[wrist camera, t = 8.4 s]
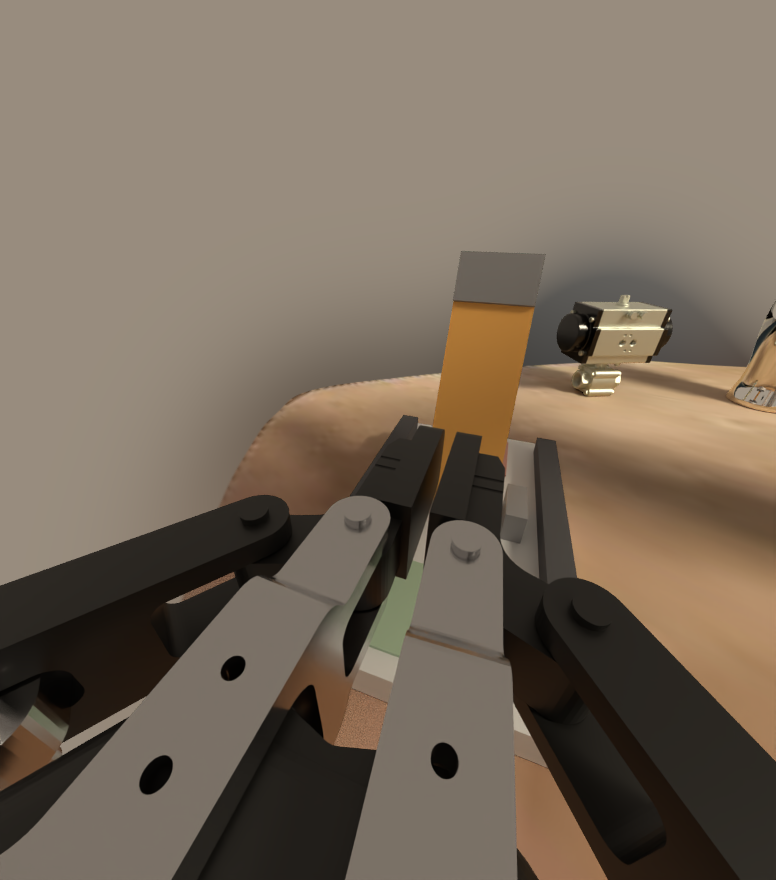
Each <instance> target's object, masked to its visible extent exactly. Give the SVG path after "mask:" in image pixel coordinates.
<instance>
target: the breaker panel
mask: <svg viewBox="0 0 776 880" xmlns="http://www.w3.org/2000/svg"><path fill="white" fill-rule="evenodd" d="M420 425H423V426H429V427H433V426H432V425H427V424H421V423H418V427H419V426H420ZM418 427H417V429H418ZM534 448H535V443H530V442H524V441H518V440H513V439H507V444H506V449H505V454H504V459H503V466H504V467H505V479H504V492H503V505H502V518H501V531H500V540H501V544H502V546H503V549H504V551H505V552H506V554H507V555H508V556H509V558H510V559H511V560H512V561H513V562H514V563H515V564H516V565H518V566H519V567H520V568H521V569H523V570H524V571H526V572H528V573H529V574H531V575H533V576H535V577H537V578H539V562H538V541H537V519H536V498H535V476H534V455H533V451H534ZM431 506H432V505H431ZM430 509H431V508H430ZM429 512H430V511H429ZM428 521H429V514H428V517H427V520H426V523H425V526H424V529H423V532H422V535H421V537H420V540H419V543H418V546H417V549H416V552H415V555H414V558H413V561H412V564H411V567H410V570H409V573H408V576H407V579H402V578H399V577H396V576H395V579H394V581H393V584H392V587H391V589H390V592H389V594H388V600H387V605H386V608H385V610H384V612H383V615H382V617H381V619H380V622H379V624H378V626H377V629H376V631H375V633H374V636H373V638H372V640H371V643H370V645H369V647H368V650H367V652H366V654H365V656H364V659H363V661H362V663H361V666H360V668H359V670H358V673H357V675H356V677H355V680H354V682H353V685H352V688H353V689H355V690H358V691H360V692H362V693H365V694H367V695H370V696H372V697H375V698H377V699H380V700H382V701H384V702H387V703H388V702H389V697H390V693H391V689H392V685H393V681H394V677H395V673H396V669H397V664H398V660H399V656H400V652H401V648H402V644H403V641H404V637H405V634H406V631H407V629H409V627H410V624H411V620H412V616H413V612H414V608H415V603H416V599H417V595H418V591H419V586H420V582H421V578H422V573H423V565H424V557H425V548H426V539H427V530H428ZM513 720H514V755H517V756H519V757H522V758H524V759H527V760H529V761H532V762H534V763H537V764H539V765H541V766H544V767H546V768H548V767H547V765H546V763H545V761H544V759H543V757H542V756H541V754H540V752H539V750H538V748H537V746H536V744H535V742H534V741H533V739H532V737H531V735H530V733H529V731H528V729H527V728H526V726H525V724H524V722H523V720H522V718H521V716H520V714H519V713H518V711H517V709H516V707H515V705H514V703H513Z"/></svg>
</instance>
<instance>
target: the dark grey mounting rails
mask: <svg viewBox="0 0 776 880" xmlns="http://www.w3.org/2000/svg"><path fill="white" fill-rule="evenodd" d="M417 427H418V417H413V416H407V415H403V416H402V418H401V419H400V421H399V422H398V424H397V425H396V427H395V428H394V430H393V431H392V433H391V434H390V436H389V438H388V439H387V441H386V442H385V444H384V445H383V447H382V448H381V450H380V451H379V453H378V454H377V456H376V457H375V459H374V460H373V462H372V463H371V465H370V466H369V468H368V469H367V471H366V472H365V474H364V475H363V477H362V478H361V480H360V481H359V483H358V484H357V486H356V487H355V489H354V490H353V492H352V493H351V495H350V497H352V496H355V495H356V493H357V492H358V490H359V488H360V487H361V485H362V484H363V482H364V481H365V479H366V478H367V476H368V475H369V473H370V471H371V470H372V468H373V467H374V466H375V464H376V462H377V461H378V459H379V458H380V457H381V454H382V453H383V451H384V450H385V448H386V447H387V445H389V444H390V443H392V442H394V441H395V440H397V439H399V438H403V439H408V440H412V438H413V436H414V435H415V433H416V431H417ZM533 455H534V476H535V498H536V519H537V541H538V562H539V579H540V580H542V581H544V582H546V583H548V584H550V583H551V582H553V581H554V580H557V579H560V578H567V577H572V578H577V575H576V568H575V562H574V556H573V549H572V543H571V536H570V530H569V524H568V517H567V511H566V504H565V498H564V492H563V485H562V479H561V472H560V466H559V460H558V453H557V447H556V441H554V440H548V439H542V438H537V441H536V444H535V448H534V451H533Z"/></svg>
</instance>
